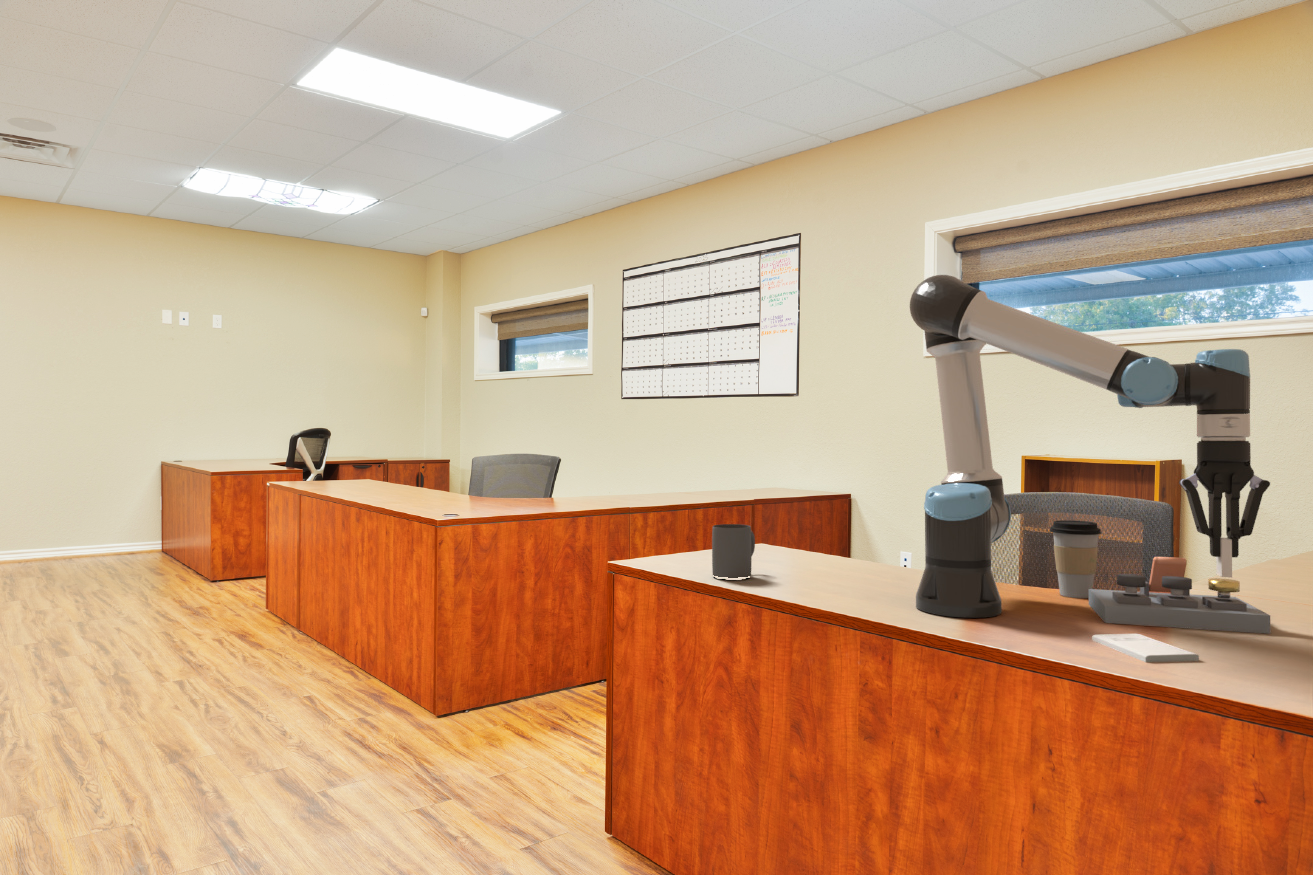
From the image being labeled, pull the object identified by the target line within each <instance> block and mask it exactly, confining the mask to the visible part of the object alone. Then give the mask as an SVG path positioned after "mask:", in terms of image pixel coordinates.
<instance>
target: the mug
mask: <svg viewBox="0 0 1313 875" xmlns="http://www.w3.org/2000/svg"><path fill="white" fill-rule="evenodd" d="M711 535H712V536H711V547H712V548H711V556H712V558H711V561H712V562H711V564H712V576H713V575H714V576H718V577H728V578H738V577H748V576H751V577H752V557H753V555H754V552H755V548H756V536H755V534H754V532H753V531H752V527H751V525H748V524H739V523H721V524H714V525H713V526H712V532H711Z"/></svg>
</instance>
